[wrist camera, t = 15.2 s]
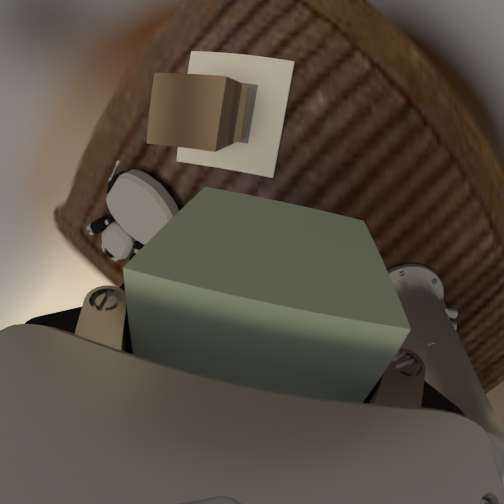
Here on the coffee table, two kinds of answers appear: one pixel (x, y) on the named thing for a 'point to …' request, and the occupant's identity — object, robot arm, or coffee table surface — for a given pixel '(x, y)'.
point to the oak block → (242, 113)
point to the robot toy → (133, 213)
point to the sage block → (266, 297)
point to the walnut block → (193, 111)
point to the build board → (259, 116)
